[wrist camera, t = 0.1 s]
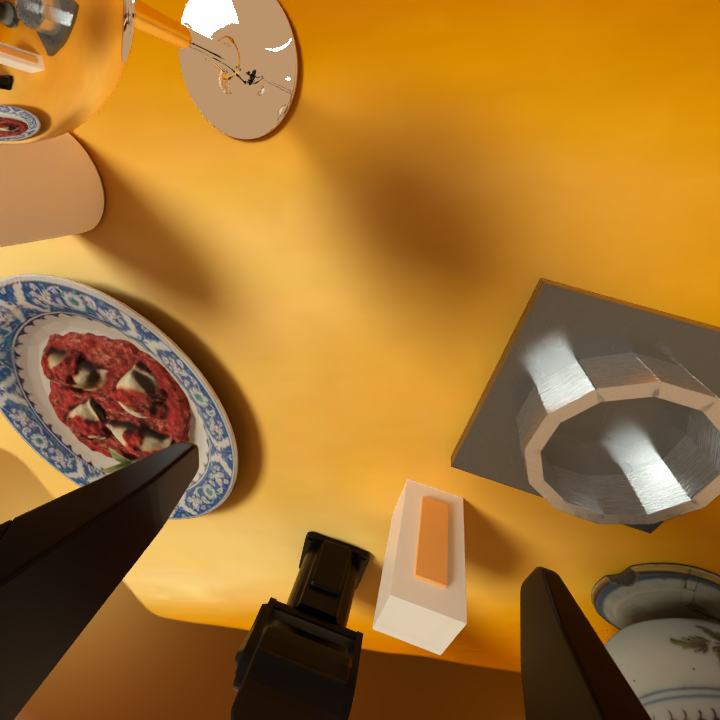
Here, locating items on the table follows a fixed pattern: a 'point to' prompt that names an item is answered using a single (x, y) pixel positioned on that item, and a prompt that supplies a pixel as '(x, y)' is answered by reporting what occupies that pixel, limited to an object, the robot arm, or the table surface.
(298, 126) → the table surface
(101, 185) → the can
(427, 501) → the white block
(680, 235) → the table surface
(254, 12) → the wineglass
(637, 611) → the apothecary jar
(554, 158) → the table surface
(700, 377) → the duct collar
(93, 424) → the ceramic plate
